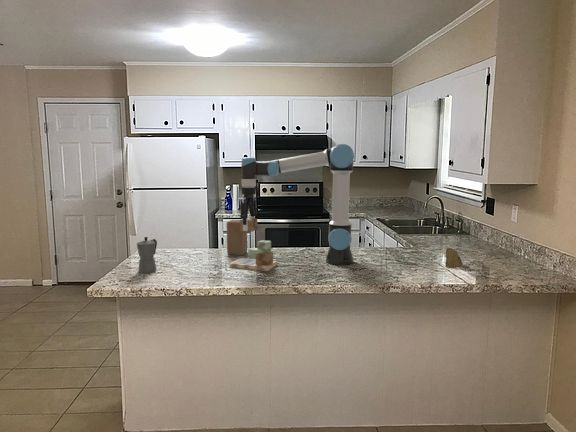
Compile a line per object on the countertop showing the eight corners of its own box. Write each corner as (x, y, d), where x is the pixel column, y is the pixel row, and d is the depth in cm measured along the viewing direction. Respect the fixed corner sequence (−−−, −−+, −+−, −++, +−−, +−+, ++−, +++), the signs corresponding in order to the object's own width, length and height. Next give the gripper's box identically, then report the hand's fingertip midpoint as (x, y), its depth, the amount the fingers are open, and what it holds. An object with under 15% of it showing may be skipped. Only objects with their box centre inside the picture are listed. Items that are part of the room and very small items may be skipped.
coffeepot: (147, 275, 222) (146, 239, 220) (131, 273, 225) (129, 238, 223) (165, 267, 237) (163, 234, 234) (149, 266, 240) (148, 233, 237)
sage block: (261, 258, 257) (261, 248, 256) (257, 260, 252) (257, 250, 251) (252, 257, 259) (252, 247, 258) (248, 259, 254) (248, 249, 253)
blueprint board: (276, 264, 242) (276, 261, 241) (267, 270, 230) (267, 267, 229) (240, 261, 249) (240, 257, 249) (229, 267, 238) (229, 263, 237)
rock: (460, 259, 244) (442, 256, 245) (466, 249, 238) (447, 246, 238) (463, 275, 236) (444, 272, 237) (468, 265, 230) (449, 262, 231)
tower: (273, 262, 239) (272, 240, 237) (267, 265, 232) (267, 243, 231) (261, 261, 241) (260, 239, 240) (255, 264, 235) (255, 242, 233)
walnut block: (245, 228, 243) (245, 217, 242) (257, 229, 240) (257, 218, 239) (239, 230, 236) (239, 219, 236) (251, 231, 234) (251, 220, 233)
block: (242, 255, 263) (242, 222, 260) (226, 254, 265) (226, 221, 262) (247, 251, 273) (247, 219, 270) (232, 251, 275) (231, 219, 272)
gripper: (250, 185, 245) (250, 226, 249) (233, 187, 227) (233, 232, 231) (263, 185, 243) (263, 227, 246) (246, 188, 224) (246, 233, 228)
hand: (248, 229), depth 238 cm, fingers closed on walnut block, 7 cm apart
